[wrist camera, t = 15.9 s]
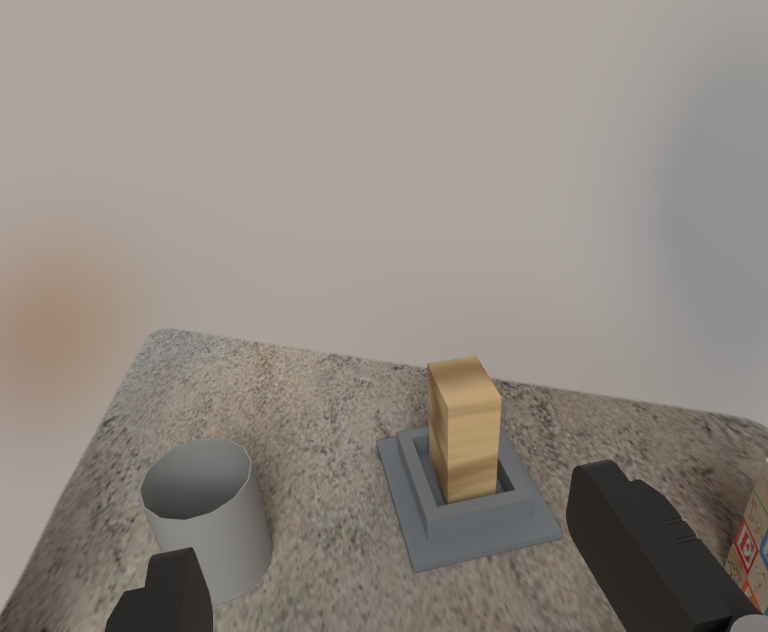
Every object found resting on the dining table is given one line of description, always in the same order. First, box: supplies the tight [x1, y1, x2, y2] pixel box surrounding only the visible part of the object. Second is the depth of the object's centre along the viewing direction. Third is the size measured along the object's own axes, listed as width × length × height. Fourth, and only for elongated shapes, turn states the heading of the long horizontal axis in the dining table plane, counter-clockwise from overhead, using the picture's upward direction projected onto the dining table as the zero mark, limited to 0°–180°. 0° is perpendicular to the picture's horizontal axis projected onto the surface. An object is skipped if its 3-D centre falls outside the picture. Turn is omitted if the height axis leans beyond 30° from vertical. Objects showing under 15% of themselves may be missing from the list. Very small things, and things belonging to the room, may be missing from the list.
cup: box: [138, 438, 272, 606], centre depth 46 cm, size 8×8×10 cm
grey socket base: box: [376, 426, 563, 573], centre depth 53 cm, size 15×13×3 cm
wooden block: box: [427, 356, 502, 505], centre depth 50 cm, size 6×4×12 cm
